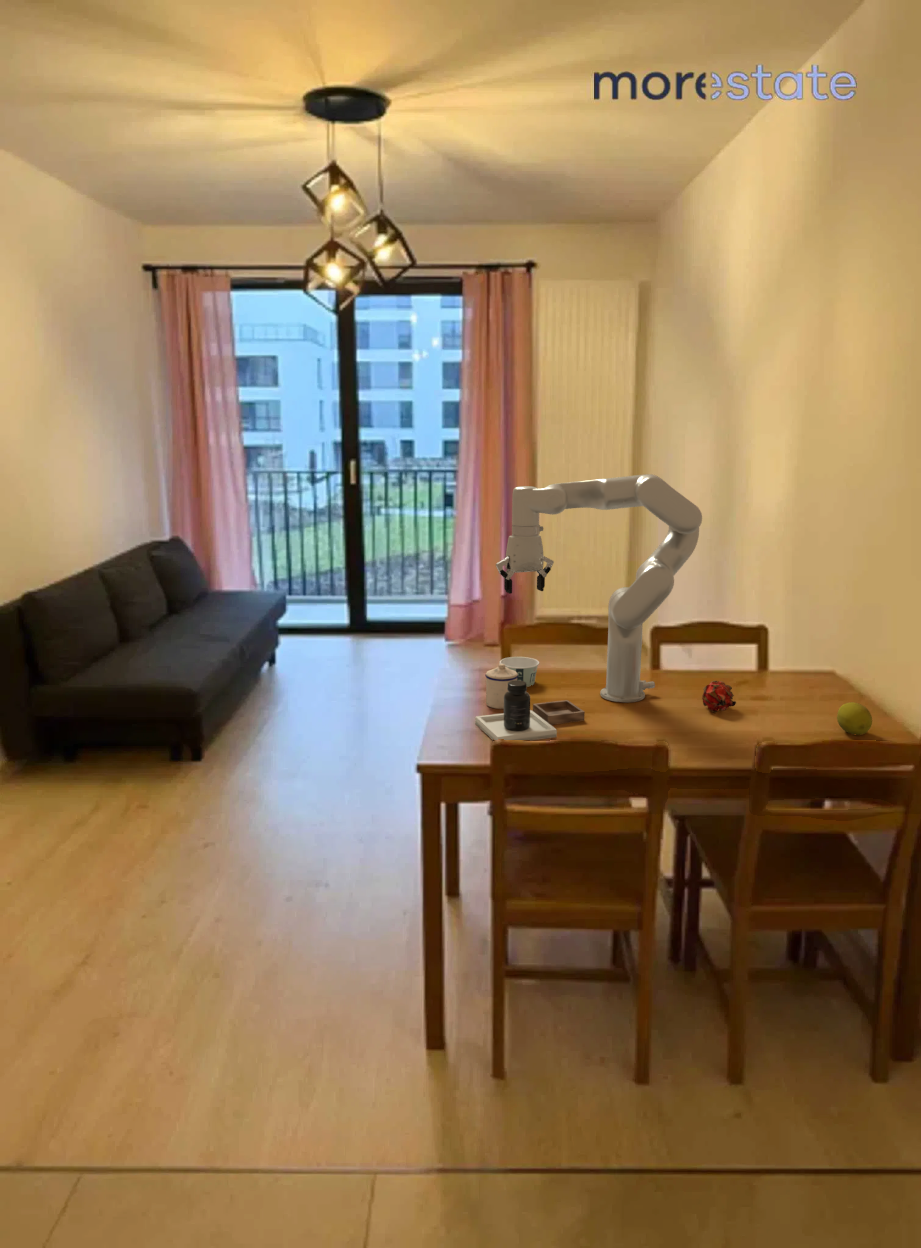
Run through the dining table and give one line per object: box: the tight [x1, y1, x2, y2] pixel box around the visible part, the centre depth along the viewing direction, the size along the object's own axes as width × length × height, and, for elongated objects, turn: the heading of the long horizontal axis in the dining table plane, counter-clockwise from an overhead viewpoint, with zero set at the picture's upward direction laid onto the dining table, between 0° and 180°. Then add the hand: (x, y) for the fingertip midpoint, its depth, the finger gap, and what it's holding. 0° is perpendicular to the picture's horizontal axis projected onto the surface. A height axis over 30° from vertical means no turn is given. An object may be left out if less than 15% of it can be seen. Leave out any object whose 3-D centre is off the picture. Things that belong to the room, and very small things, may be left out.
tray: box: [474, 709, 558, 741], centre depth 235 cm, size 16×16×2 cm
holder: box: [532, 699, 586, 726], centre depth 245 cm, size 10×10×2 cm
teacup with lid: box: [485, 663, 518, 710], centre depth 256 cm, size 12×9×12 cm
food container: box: [499, 656, 540, 688], centre depth 275 cm, size 12×12×6 cm
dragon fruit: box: [701, 680, 737, 714], centre depth 251 cm, size 8×8×12 cm
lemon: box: [836, 701, 873, 736], centre depth 233 cm, size 11×8×8 cm
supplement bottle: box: [503, 680, 531, 731], centre depth 234 cm, size 7×7×12 cm
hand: (524, 591), depth 258 cm, fingers open, 9 cm apart
